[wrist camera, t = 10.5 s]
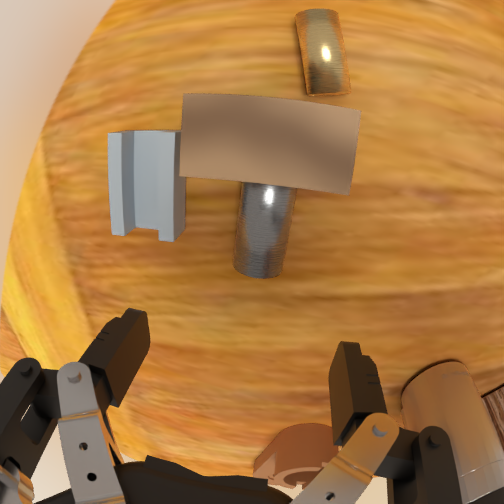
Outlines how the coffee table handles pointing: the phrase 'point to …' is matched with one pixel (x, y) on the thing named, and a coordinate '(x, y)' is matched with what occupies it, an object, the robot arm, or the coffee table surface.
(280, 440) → the bracket
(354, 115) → the beam
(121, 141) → the cradle
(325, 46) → the cylinder
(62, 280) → the coffee table surface
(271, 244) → the axle
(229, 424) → the coffee table surface
